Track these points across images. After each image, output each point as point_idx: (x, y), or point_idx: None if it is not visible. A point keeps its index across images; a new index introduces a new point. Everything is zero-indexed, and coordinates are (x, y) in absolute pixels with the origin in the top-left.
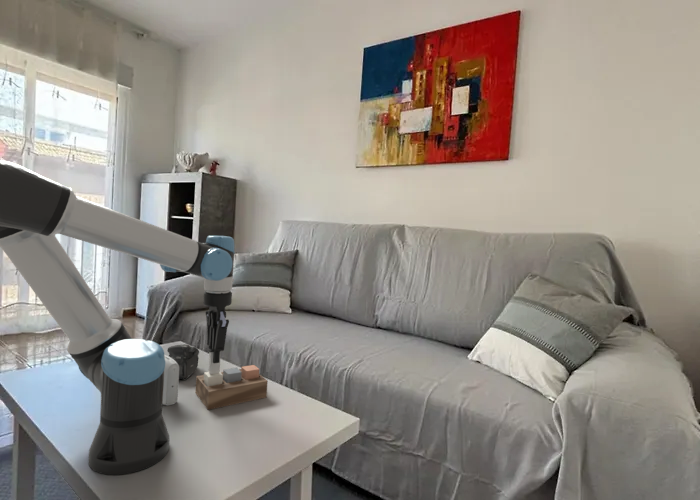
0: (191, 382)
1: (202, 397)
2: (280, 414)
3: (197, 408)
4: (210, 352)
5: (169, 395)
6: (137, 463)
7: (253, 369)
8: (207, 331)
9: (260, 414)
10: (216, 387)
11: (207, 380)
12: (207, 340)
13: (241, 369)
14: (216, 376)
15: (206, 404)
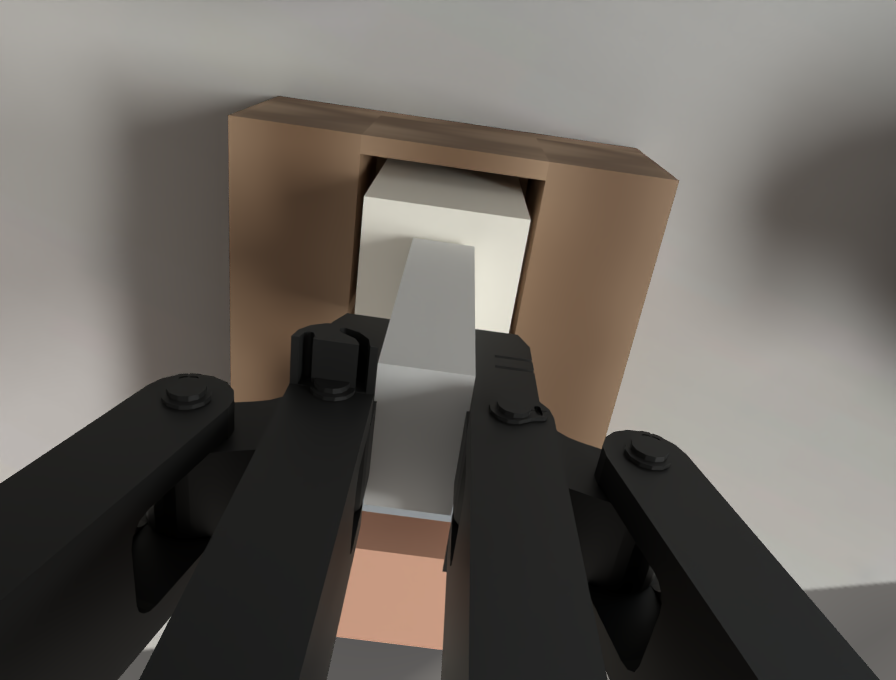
0: (857, 211)
1: (433, 124)
2: (11, 448)
3: (347, 34)
4: (413, 356)
5: None
6: None
7: (346, 602)
8: (811, 677)
9: (55, 360)
10: (294, 222)
11: (400, 188)
12: (682, 492)
13: None
14: (359, 280)
15: (316, 105)
